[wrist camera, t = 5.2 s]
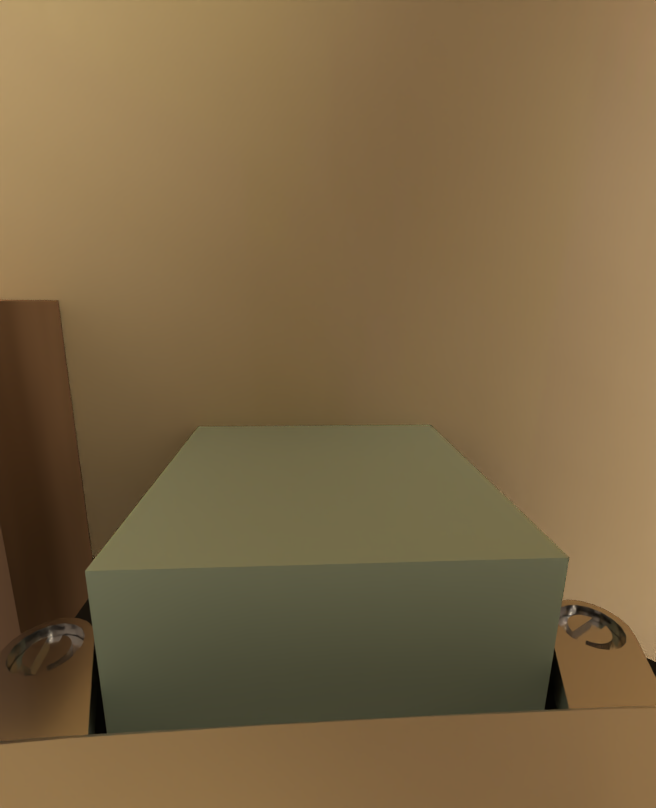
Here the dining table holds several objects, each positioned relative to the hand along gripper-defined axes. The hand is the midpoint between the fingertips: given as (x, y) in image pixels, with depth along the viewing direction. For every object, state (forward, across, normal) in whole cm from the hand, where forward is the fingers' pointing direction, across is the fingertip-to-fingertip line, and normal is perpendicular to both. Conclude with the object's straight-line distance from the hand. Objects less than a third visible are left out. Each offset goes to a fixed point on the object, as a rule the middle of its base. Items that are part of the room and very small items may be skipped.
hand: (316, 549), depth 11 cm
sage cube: (+1, 0, 0) cm, 1 cm away
